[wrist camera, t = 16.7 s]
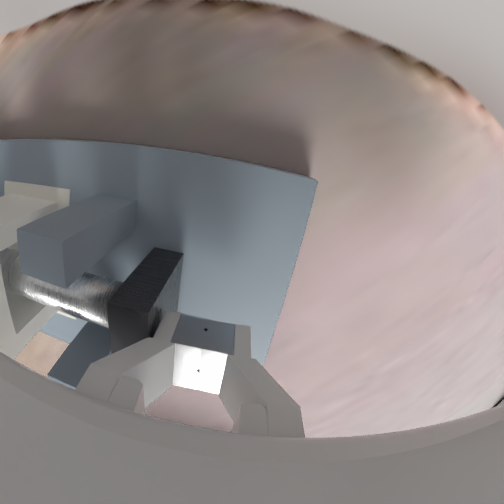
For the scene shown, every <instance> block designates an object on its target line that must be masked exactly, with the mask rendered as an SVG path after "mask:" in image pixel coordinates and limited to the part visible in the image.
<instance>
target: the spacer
mask: <svg viewBox="0 0 504 504" xmlns="http://www.w3.org/2000/svg"><path fill="white" fill-rule="evenodd" d="M57 205H58V202H54V201H49V200H44V199H39V198H34V197H28V196H23V195H18V194H13V193H10V194H7V195H4V196H1V197H0V251H2V250H4V249H6V248H7V247H9V246H11V245H13V244H14V243H16V242H17V229H18V228H20V227H22V226H24V225H26V224H28V223H30V222H33V221H35V220H37V219H39V218H41V217H44V216H46V215H48V214H50V213H53V212H55V211H57ZM57 312H58V310H55V309H53V308H50V307H47V306H45V305H42V304H40V303H38V302H35V301H33V300H30V299H28V298H26V297H24V296H21V295H19V294H17V293H15V292H12V291H10V290H8V289H6V288H4V283H3V277H2V271H1V265H0V352H2V353H3V354H5V355H7V356H8V357H10V358H12V359H13V360H14V359H15V358H16V357H17V355H18V354H19V353H20V352H21V351H22V350H23V348H24V347H25V346H26V345H27V344H28V343H29V342H30V340H31V339H32V338H33V337H34V336H35V335H36V334H37V333H38V332H39V331H40V329H41V328H42V327H43V326H44V325H45V324H46V323H47V322H48V321H49V320H50V319H51V318H52V317H53V316H54V315H55V314H56V313H57Z"/></svg>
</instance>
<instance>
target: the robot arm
mask: <svg viewBox="0 0 504 504" xmlns="http://www.w3.org/2000/svg"><path fill="white" fill-rule="evenodd" d="M173 385H176V386H181V387H186V388H192V389H197V390H201V391H206V392H211V393H216V394H219V397H220V399H221V400H222V402H223V404H224V406H225V408H226V409H227V411H228V413H229V415H230V416H231V418H232V420H233V421H234V426H233V429H232V431H231V432H224V431H218V430H211V429H206V428H200V427H195V426H190V425H185V424H180V423H176V422H171V421H167V420H163V419H159V418H155V417H151V416H148V415H146V414H145V408H146V407H147V406H148V405H149V404H151V403H152V402H153V401H155V400H156V399H157V398H158V397H160V396H161V395H162V394H163V393H165V392H166V391H167V390H168V389H170V388H171V387H172V386H173ZM0 504H504V400H502V401H501V402H500V403H499V404H498V405H497V406H496V407H494V408H491V409H488V410H486V411H483V412H480V413H477V414H473V415H470V416H467V417H463V418H460V419H456V420H452V421H448V422H444V423H440V424H436V425H431V426H426V427H421V428H416V429H411V430H405V431H398V432H391V433H384V434H375V435H365V436H352V437H332V438H305V434H304V428H303V422H302V416H301V410H300V406H299V405H298V404H297V403H296V402H295V401H294V400H293V399H292V398H291V397H290V396H289V395H288V394H287V392H286V391H285V390H284V389H283V388H282V387H281V386H280V385H279V384H278V383H277V382H276V381H275V380H274V378H273V377H272V376H271V375H270V374H269V373H268V372H267V371H266V370H265V369H264V367H263V366H262V365H261V364H260V363H259V362H258V361H257V360H256V359H254V358H251V327H250V326H246V325H239V324H231V323H225V322H220V321H214V320H210V319H206V318H202V317H197V316H193V315H189V314H185V313H181V312H176V311H172V310H166V311H165V313H164V315H163V317H162V319H161V321H160V324H159V326H158V328H157V330H156V332H155V334H154V336H153V338H150V337H148V338H145V339H143V340H141V341H139V342H137V343H135V344H132V345H130V346H128V347H126V348H124V349H122V350H119V351H117V352H115V353H113V354H111V355H108V356H106V357H104V358H102V359H100V360H97V361H95V362H93V363H91V364H90V366H89V367H88V369H87V370H86V372H85V374H84V375H83V377H82V379H81V380H80V382H79V384H78V385H77V387H76V389H75V390H73V389H71V388H68V387H66V386H64V385H62V384H60V383H57V382H55V381H53V380H51V379H49V378H47V377H45V376H43V375H41V374H39V373H37V372H35V371H33V370H31V369H29V368H28V367H26V366H24V365H22V364H20V363H19V362H17V361H15V360H13V359H12V358H10V357H8V356H7V355H5V354H3V353H2V352H0Z"/></svg>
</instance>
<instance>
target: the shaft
mask: <svg viewBox="0 0 504 504" xmlns="http://www.w3.org/2000/svg"><path fill="white" fill-rule="evenodd" d="M183 257H184V253H180V252H175V251H171V250H166V249H161V248H156V247H154V248H153V249H152V251H151V252H150V253H149V254H148V255H147V256H146V257H145V258H144V259H143V260H142V262H141V263H140V264H139V265H138V266H137V267H136V268H135V269H134V271H133V272H132V273H131V274H130V275H129V276H128V277H127V279H126V280H125V281H124V282H121V281H117V280H113V279H109V278H106V277H102V276H98V275H95V274H91V273H87V272H85V273H83V274H82V275H81V276H80V277H79V278H78V279H77V280H76V281H74V282H73V283H72V284H71V285H70V286H69V287H68V288H67V289H64V288H61V287H58V286H55V285H53V284H50V283H47V282H44V281H41V280H39V279H36V278H33V277H31V276H28V275H25V274H23V273H21V268H20V261H19V252H18V251H17V250H14V249H11V248H8V247H7V248H6V249H4V250H2V251H0V265H1V271H2V277H3V283H4V288H6V289H8V290H10V291H12V292H15V293H17V294H19V295H21V296H24V297H26V298H28V299H30V300H33V301H35V302H38V303H40V304H42V305H45V306H47V307H50V308H53V309H55V310H58V311H60V312H63V313H66V314H68V315H71V316H74V317H77V318H80V319H82V320H85V321H88V322H91V323H94V324H97V325H100V326H103V327H107V328H109V336H110V345H111V354H113V353H115V352H117V351H119V350H122V349H124V348H126V347H128V346H130V345H132V344H135V343H137V342H139V341H141V340H143V339H145V338H148V337H150V338H153V336H154V334H155V332H156V330H157V328H158V326H159V324H160V321H161V319H162V317H163V315H164V313H165V311H166V310H172V311H176V312H177V310H178V300H179V291H180V282H181V273H182V265H183Z"/></svg>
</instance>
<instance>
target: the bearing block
mask: <svg viewBox="0 0 504 504" xmlns="http://www.w3.org/2000/svg"><path fill="white" fill-rule="evenodd" d="M317 184H318V181H317V180H315V179H313V178H311V177H308V176H304V175H300V174H296V173H292V172H288V171H284V170H280V169H276V168H271V167H267V166H262V165H258V164H253V163H248V162H244V161H239V160H234V159H229V158H223V157H218V156H212V155H207V154H201V153H195V152H188V151H182V150H175V149H168V148H161V147H153V146H145V145H136V144H126V143H116V142H104V141H90V140H71V139H0V197H1V196H4V195H7V194H10V193H13V194H18V195H23V196H28V197H34V198H39V199H44V200H49V201H54V202H58V205H57V211H55V212H53V213H50V214H48V215H46V216H44V217H41V218H39V219H37V220H35V221H33V222H30V223H28V224H26V225H24V226H22V227H20V228H18V229H17V242H16V243H14V244H13V245H11V246H9V247H8V248H11V249H14V250H17V251H18V252H19V261H20V268H21V273H23V274H25V275H28V276H31V277H33V278H36V279H39V280H41V281H44V282H47V283H50V284H53V285H55V286H58V287H61V288H64V289H67V288H68V287H69V286H70V285H71V284H72V283H73V282H74V281H76V280H77V279H78V278H79V277H80V276H81V275H82V274H83V273H85V272H87V273H91V274H95V275H98V276H102V277H106V278H109V279H113V280H117V281H121V282H124V281H125V280H126V279H127V277H128V276H129V275H130V274H131V273H132V272H133V271H134V269H135V268H136V267H137V266H138V265H139V264H140V263H141V262H142V260H143V259H144V258H145V257H146V256H147V255H148V254H149V253H150V252H151V251H152V249H153V248H154V247H156V248H161V249H166V250H171V251H175V252H180V253H184V257H183V265H182V273H181V282H180V291H179V300H178V310H177V312H181V313H185V314H189V315H193V316H197V317H202V318H206V319H210V320H214V321H220V322H225V323H231V324H239V325H246V326H250V327H251V358H254V359H256V360H257V361H258V362H259V363H260V364H261V365H262V366H263V364H264V361H265V358H266V355H267V352H268V349H269V346H270V343H271V340H272V337H273V334H274V331H275V328H276V325H277V322H278V319H279V316H280V312H281V309H282V306H283V303H284V300H285V297H286V293H287V290H288V287H289V284H290V280H291V277H292V274H293V270H294V267H295V264H296V260H297V257H298V253H299V250H300V246H301V243H302V239H303V236H304V232H305V229H306V225H307V221H308V218H309V214H310V210H311V207H312V203H313V199H314V195H315V191H316V188H317ZM40 331H41V332H43V333H45V334H48V335H50V336H52V337H55V338H57V339H59V340H62V341H64V342H67V343H69V344H70V345H69V346H68V347H67V349H66V350H65V351H64V353H63V354H62V355H61V357H60V358H59V359H58V361H57V362H56V363H55V365H54V366H53V368H52V369H51V370H50V372H49V373H48V378H49V379H51V380H53V381H55V382H57V383H60V384H62V385H64V386H66V387H68V388H71V389H73V390H75V389H76V387H77V385H78V384H79V382H80V380H81V379H82V377H83V375H84V374H85V372H86V370H87V369H88V367H89V366H90V364H91V363H93V362H95V361H97V360H100V359H102V358H104V357H106V356H108V355H111V345H110V336H109V328H107V327H103V326H100V325H97V324H94V323H91V322H88V321H85V320H82V319H80V318H77V317H74V316H71V315H68V314H66V313H63V312H60V311H58V312H57V313H56V314H55V315H54V316H53V317H52V318H51V319H50V320H49V321H48V322H47V323H46V324H45V325H44V326H43V327H42V328H41V329H40Z"/></svg>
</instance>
